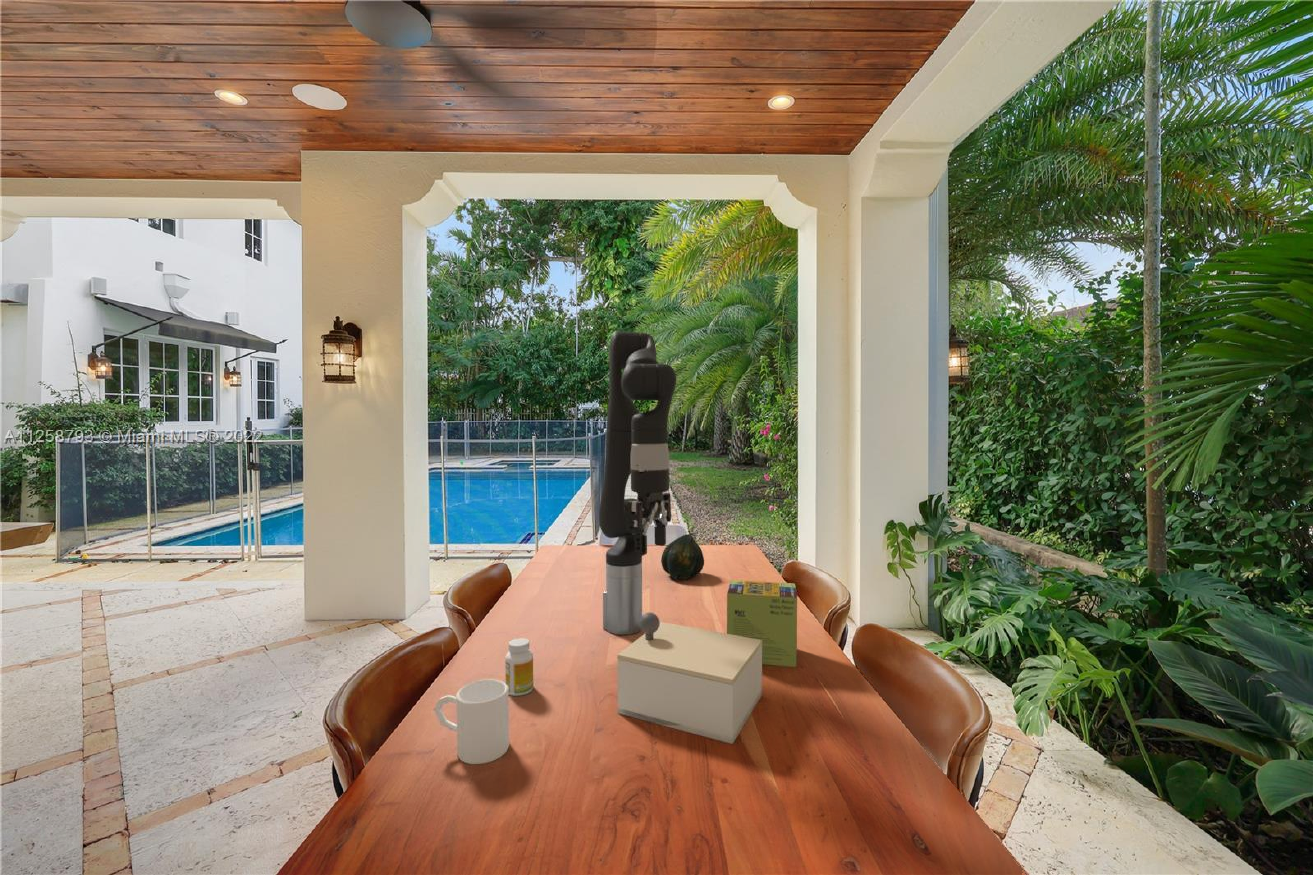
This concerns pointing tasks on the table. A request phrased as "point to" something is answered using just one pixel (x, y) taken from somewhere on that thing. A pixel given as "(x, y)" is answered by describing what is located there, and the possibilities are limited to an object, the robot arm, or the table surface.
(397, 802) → the table surface
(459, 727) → the mug
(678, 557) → the squash
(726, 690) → the carton
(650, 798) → the table surface
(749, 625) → the protein box
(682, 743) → the table surface
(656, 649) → the lid
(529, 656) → the supplement bottle
